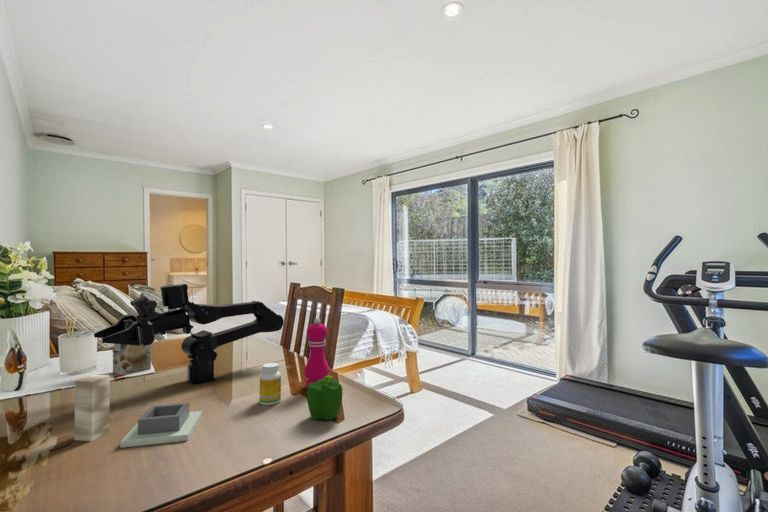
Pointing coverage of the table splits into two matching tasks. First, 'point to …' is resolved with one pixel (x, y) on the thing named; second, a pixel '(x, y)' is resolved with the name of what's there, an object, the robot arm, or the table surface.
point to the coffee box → (131, 358)
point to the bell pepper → (324, 398)
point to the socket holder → (163, 425)
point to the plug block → (92, 407)
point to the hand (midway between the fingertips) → (97, 338)
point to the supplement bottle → (270, 384)
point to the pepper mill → (316, 353)
